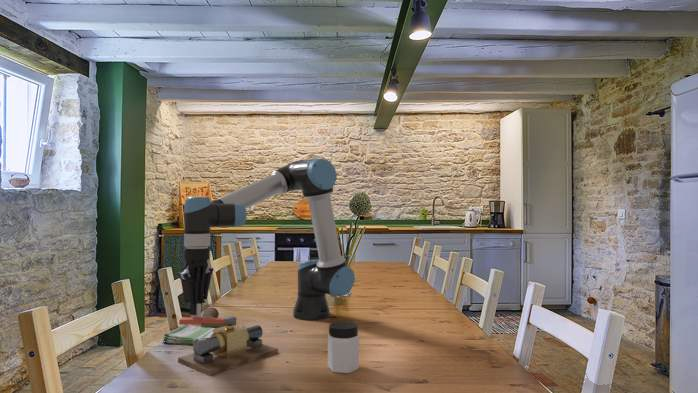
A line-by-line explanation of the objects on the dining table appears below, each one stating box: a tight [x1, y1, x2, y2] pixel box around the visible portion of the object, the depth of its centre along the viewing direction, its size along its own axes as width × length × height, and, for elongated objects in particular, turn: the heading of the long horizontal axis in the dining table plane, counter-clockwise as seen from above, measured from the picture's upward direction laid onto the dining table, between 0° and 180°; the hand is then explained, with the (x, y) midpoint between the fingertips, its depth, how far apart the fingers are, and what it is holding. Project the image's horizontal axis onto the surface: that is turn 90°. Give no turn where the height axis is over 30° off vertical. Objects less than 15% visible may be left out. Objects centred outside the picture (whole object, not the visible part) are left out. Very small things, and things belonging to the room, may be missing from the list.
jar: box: [327, 321, 360, 374], centre depth 123 cm, size 9×8×12 cm
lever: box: [178, 315, 237, 326], centre depth 131 cm, size 16×4×2 cm, turn 95°
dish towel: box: [162, 324, 216, 346], centre depth 151 cm, size 17×23×4 cm
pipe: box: [199, 307, 237, 328], centre depth 165 cm, size 6×17×10 cm
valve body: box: [192, 324, 264, 365], centre depth 131 cm, size 22×7×9 cm, turn 142°
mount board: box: [177, 343, 279, 376], centre depth 131 cm, size 24×16×1 cm, turn 142°
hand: (195, 324), depth 133 cm, fingers closed
